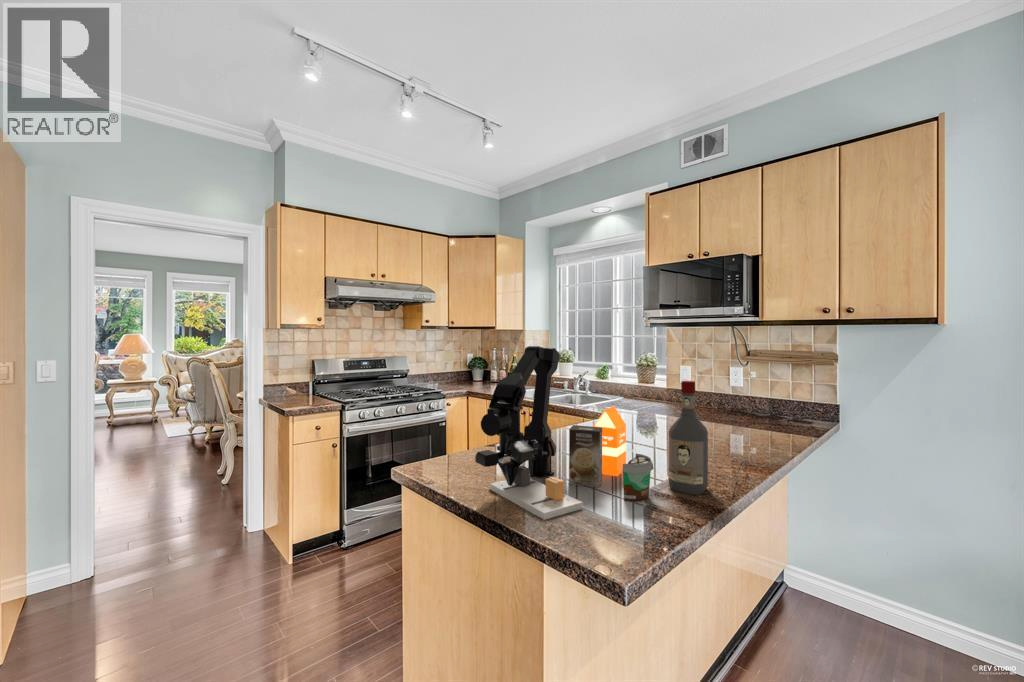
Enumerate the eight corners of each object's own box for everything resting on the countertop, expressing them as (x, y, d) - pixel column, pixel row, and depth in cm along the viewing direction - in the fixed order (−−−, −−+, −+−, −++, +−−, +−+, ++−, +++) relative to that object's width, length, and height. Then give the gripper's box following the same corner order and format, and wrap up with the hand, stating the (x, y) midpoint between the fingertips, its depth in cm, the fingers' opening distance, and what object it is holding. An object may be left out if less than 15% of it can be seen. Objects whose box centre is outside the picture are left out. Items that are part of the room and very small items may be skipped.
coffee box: (567, 484, 129) (567, 429, 129) (572, 477, 135) (572, 424, 135) (600, 487, 126) (599, 431, 126) (603, 480, 132) (602, 426, 132)
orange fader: (554, 493, 117) (554, 476, 116) (564, 498, 113) (563, 480, 113) (545, 495, 115) (545, 478, 115) (555, 500, 112) (555, 482, 112)
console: (524, 481, 132) (524, 475, 132) (582, 508, 111) (582, 501, 111) (489, 489, 126) (489, 483, 126) (544, 519, 105) (544, 512, 105)
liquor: (676, 481, 131) (675, 379, 131) (709, 487, 126) (709, 380, 126) (666, 490, 124) (666, 382, 123) (701, 497, 119) (701, 384, 118)
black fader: (521, 480, 127) (521, 464, 127) (530, 484, 123) (529, 468, 123) (513, 482, 125) (513, 466, 125) (521, 486, 122) (521, 470, 122)
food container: (646, 507, 112) (646, 467, 112) (622, 502, 115) (622, 463, 115) (658, 492, 122) (658, 456, 122) (636, 488, 126) (636, 452, 125)
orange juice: (626, 469, 143) (626, 406, 143) (617, 476, 136) (616, 410, 136) (603, 465, 148) (603, 404, 147) (592, 472, 140) (592, 408, 140)
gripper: (495, 438, 110) (496, 501, 110) (555, 429, 120) (555, 487, 121) (474, 430, 119) (474, 488, 120) (531, 422, 130) (531, 476, 130)
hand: (510, 485), depth 122 cm, fingers closed
